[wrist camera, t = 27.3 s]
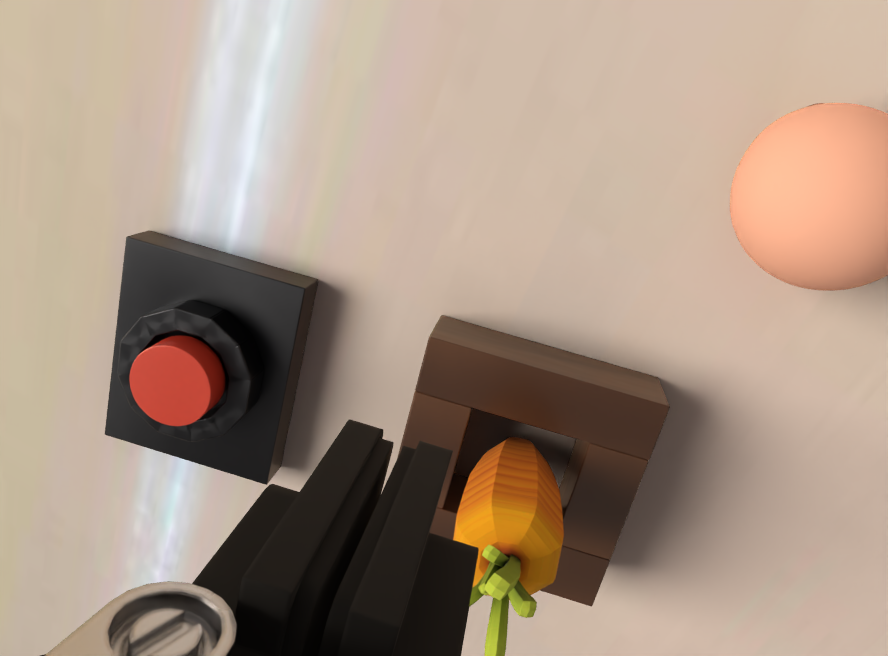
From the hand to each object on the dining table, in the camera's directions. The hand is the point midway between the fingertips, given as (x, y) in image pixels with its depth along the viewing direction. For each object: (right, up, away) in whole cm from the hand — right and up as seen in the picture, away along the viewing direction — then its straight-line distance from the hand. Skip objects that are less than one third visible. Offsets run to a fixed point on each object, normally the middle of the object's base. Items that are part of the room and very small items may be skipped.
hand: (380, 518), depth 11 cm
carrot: (+5, -4, +29) cm, 30 cm away
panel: (-12, +1, +30) cm, 32 cm away
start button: (-13, 0, +27) cm, 29 cm away
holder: (+5, -4, +29) cm, 30 cm away
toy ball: (+18, +10, +23) cm, 31 cm away
